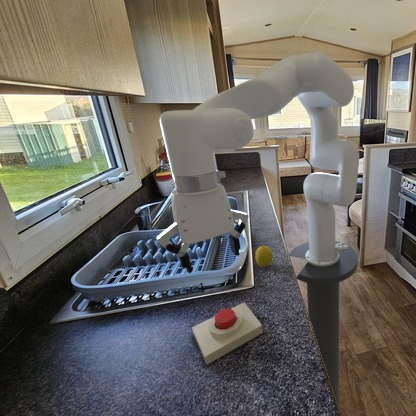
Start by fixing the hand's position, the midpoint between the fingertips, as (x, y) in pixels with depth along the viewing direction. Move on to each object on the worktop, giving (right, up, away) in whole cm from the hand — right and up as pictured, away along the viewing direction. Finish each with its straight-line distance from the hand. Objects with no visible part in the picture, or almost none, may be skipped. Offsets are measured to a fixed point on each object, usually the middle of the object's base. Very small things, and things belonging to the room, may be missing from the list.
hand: (213, 261), depth 54 cm
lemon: (+4, -9, +33) cm, 35 cm away
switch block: (+1, -19, +7) cm, 20 cm away
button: (0, -16, +6) cm, 17 cm away
